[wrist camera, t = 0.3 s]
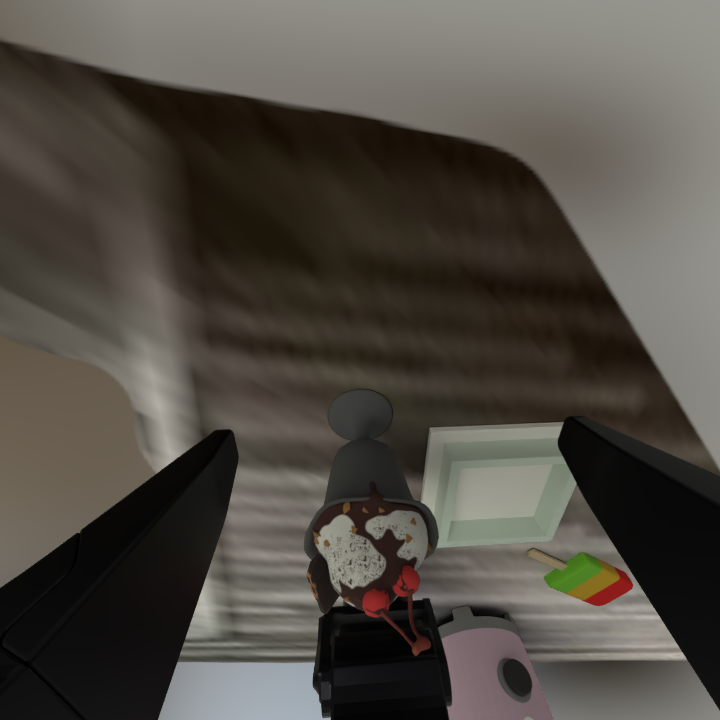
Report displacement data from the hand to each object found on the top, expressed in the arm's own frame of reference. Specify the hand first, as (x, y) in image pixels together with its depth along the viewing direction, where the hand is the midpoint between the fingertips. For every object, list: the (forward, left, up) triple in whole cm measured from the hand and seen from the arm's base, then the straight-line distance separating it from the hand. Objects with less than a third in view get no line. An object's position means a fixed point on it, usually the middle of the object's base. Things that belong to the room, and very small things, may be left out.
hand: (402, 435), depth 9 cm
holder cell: (-17, -12, -13) cm, 25 cm away
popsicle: (-32, -24, -14) cm, 42 cm away
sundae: (-9, 0, -13) cm, 16 cm away
